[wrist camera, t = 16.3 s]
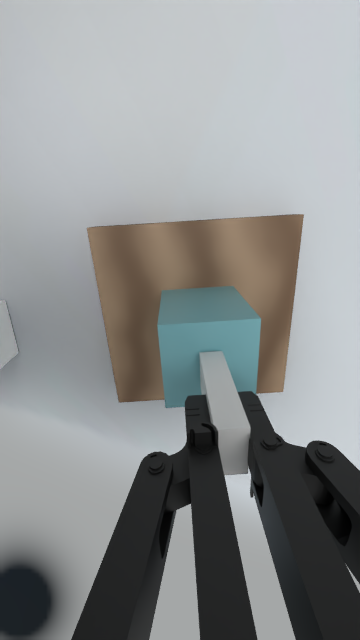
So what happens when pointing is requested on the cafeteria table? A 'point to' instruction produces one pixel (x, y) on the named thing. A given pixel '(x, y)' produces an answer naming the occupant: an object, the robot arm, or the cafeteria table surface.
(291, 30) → the cafeteria table surface
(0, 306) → the milk
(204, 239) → the walnut stand
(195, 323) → the teal block
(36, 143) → the cafeteria table surface
